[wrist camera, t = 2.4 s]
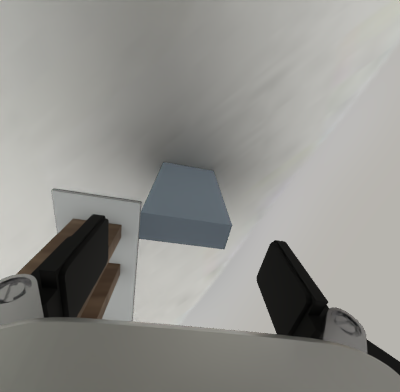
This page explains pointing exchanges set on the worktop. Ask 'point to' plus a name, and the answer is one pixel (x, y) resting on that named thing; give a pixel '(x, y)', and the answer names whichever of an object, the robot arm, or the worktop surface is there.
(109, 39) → the worktop surface
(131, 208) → the mat
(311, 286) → the robot arm
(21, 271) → the tile
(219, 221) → the slate tile
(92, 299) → the tile
